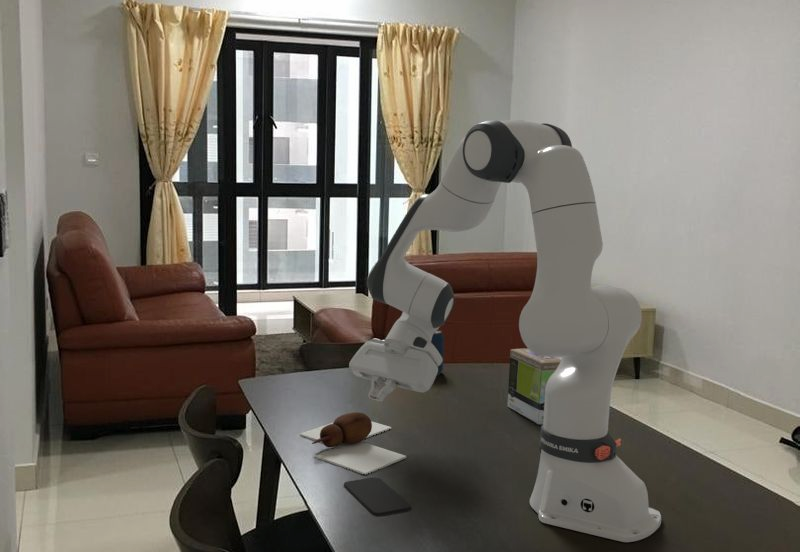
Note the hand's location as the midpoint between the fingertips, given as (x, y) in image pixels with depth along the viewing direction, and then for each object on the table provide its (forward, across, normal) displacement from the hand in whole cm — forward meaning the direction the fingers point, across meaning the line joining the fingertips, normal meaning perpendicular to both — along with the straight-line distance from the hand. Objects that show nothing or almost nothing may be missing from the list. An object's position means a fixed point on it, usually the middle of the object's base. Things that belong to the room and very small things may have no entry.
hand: (374, 398), depth 176 cm
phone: (+21, +17, -6) cm, 27 cm away
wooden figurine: (+3, -4, +6) cm, 8 cm away
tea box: (-24, +14, +39) cm, 48 cm away
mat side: (+12, +2, +3) cm, 12 cm away
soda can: (-32, -27, +46) cm, 62 cm away
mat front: (+5, -10, +9) cm, 15 cm away
